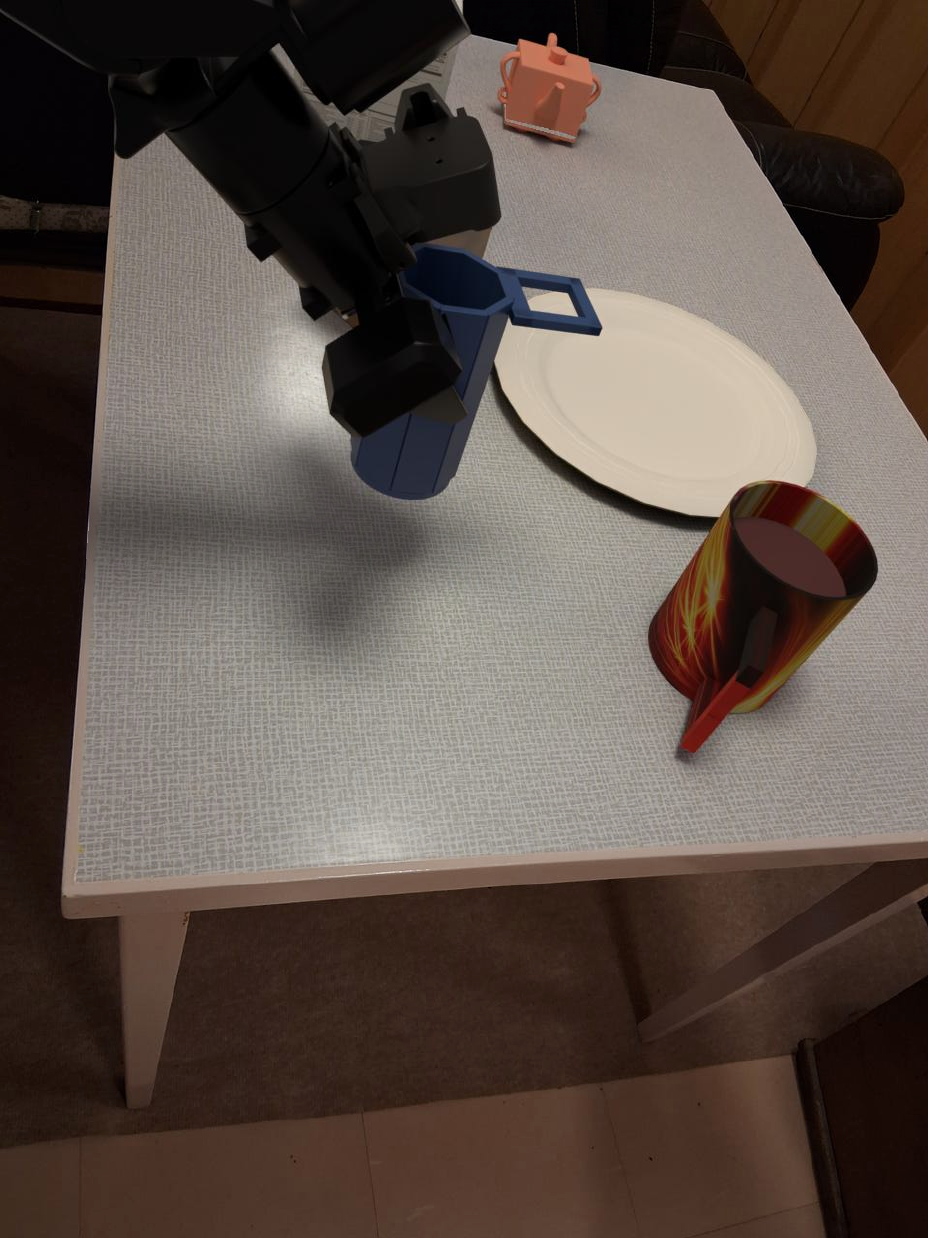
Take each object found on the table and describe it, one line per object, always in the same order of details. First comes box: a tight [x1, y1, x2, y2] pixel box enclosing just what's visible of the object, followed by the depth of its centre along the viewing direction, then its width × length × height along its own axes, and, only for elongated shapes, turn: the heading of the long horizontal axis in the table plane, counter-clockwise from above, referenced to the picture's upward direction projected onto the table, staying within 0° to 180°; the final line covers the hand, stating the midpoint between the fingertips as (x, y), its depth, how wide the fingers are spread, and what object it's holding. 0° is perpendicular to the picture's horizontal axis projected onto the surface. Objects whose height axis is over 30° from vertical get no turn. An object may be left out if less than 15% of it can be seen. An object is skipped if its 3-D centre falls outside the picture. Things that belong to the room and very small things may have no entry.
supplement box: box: [293, 0, 464, 142], centre depth 87 cm, size 13×13×18 cm
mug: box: [647, 480, 879, 755], centre depth 60 cm, size 10×14×12 cm
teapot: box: [496, 32, 602, 144], centre depth 109 cm, size 12×15×8 cm
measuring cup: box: [349, 243, 603, 501], centre depth 56 cm, size 11×6×13 cm, turn 100°
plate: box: [493, 287, 818, 520], centre depth 82 cm, size 29×29×2 cm
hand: (449, 379), depth 55 cm, fingers closed on measuring cup, 6 cm apart
